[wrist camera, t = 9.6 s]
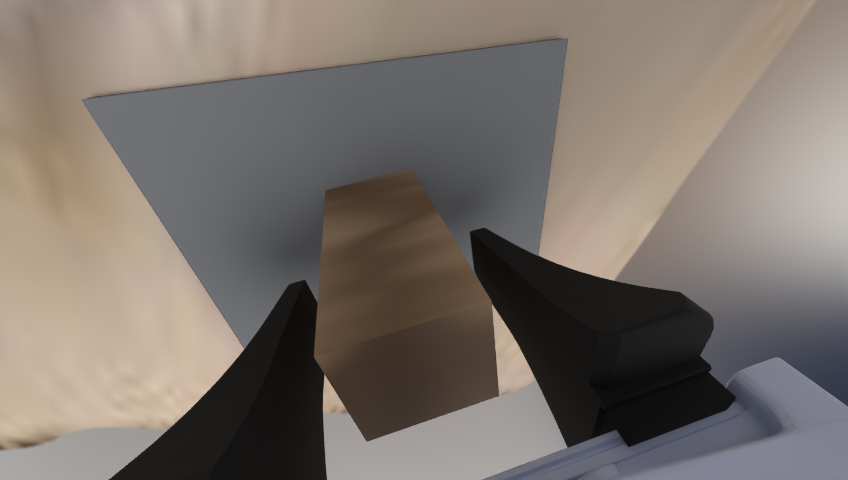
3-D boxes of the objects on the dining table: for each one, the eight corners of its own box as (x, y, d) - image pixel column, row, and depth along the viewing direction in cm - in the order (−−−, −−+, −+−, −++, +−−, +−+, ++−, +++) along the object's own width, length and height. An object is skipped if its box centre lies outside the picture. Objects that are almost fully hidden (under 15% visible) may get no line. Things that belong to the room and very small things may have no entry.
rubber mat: (559, 38, 13) (568, 38, 13) (529, 281, 21) (533, 287, 21) (93, 97, 11) (81, 99, 10) (252, 349, 19) (250, 358, 18)
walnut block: (411, 167, 14) (491, 301, 7) (426, 238, 17) (498, 396, 9) (325, 190, 14) (313, 356, 7) (352, 259, 16) (367, 441, 9)
